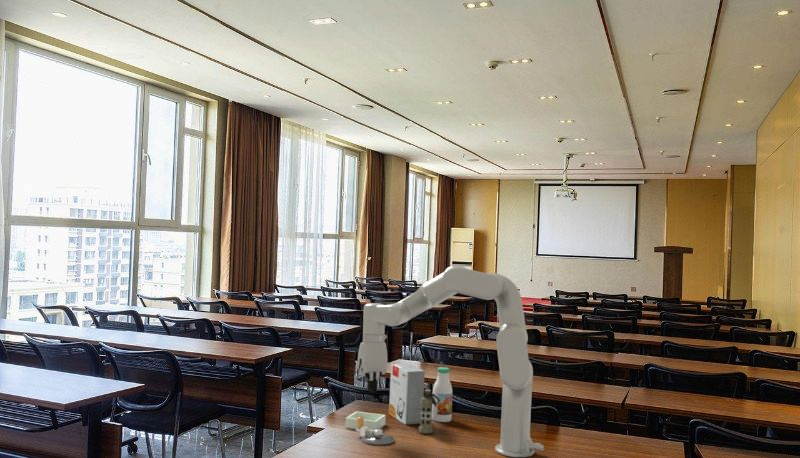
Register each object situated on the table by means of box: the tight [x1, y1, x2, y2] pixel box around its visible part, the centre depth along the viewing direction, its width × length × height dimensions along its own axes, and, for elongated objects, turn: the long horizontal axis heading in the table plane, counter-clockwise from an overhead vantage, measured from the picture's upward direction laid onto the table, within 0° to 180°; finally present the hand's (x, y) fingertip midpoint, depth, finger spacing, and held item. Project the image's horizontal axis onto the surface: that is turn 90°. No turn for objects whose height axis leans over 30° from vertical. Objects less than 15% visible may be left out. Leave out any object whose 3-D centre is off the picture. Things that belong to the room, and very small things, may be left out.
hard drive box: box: [388, 363, 426, 426], centre depth 256 cm, size 16×8×20 cm, turn 25°
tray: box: [344, 411, 387, 430], centre depth 243 cm, size 12×11×4 cm
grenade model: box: [418, 389, 440, 435], centre depth 239 cm, size 6×7×15 cm
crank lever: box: [355, 417, 384, 438], centre depth 227 cm, size 10×3×5 cm, turn 58°
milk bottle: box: [432, 366, 453, 423], centre depth 257 cm, size 8×8×20 cm
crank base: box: [359, 426, 395, 446], centre depth 225 cm, size 12×11×4 cm
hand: (372, 391), depth 233 cm, fingers closed
